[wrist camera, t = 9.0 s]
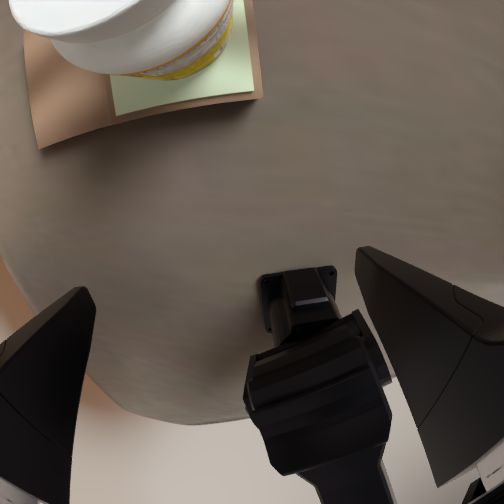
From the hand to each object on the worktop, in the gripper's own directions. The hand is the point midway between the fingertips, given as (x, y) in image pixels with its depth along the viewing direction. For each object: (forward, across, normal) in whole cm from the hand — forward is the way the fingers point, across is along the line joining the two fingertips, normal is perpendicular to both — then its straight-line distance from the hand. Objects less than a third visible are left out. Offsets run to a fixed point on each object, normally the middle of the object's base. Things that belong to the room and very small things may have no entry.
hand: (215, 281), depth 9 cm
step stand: (+13, +5, -10) cm, 17 cm away
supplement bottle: (+10, +1, -10) cm, 14 cm away
